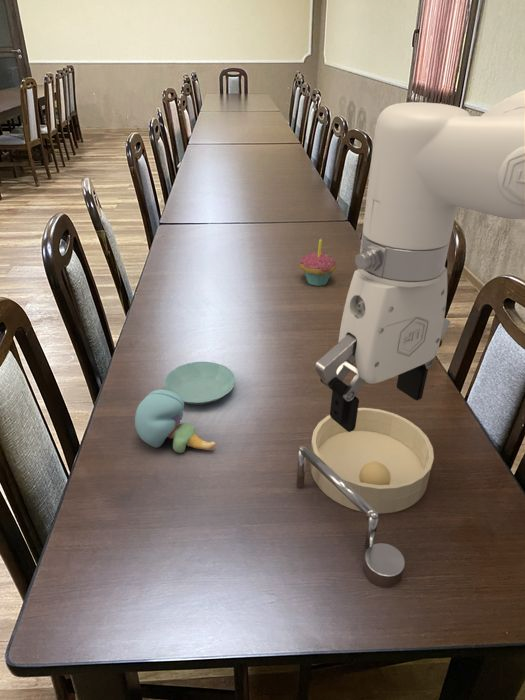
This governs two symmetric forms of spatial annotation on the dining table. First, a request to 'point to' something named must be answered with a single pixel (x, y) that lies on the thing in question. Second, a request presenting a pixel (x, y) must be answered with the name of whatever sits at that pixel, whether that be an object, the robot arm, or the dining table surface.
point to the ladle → (380, 558)
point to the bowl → (374, 458)
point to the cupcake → (318, 266)
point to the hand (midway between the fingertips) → (376, 408)
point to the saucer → (200, 382)
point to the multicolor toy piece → (166, 422)
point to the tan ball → (375, 474)
